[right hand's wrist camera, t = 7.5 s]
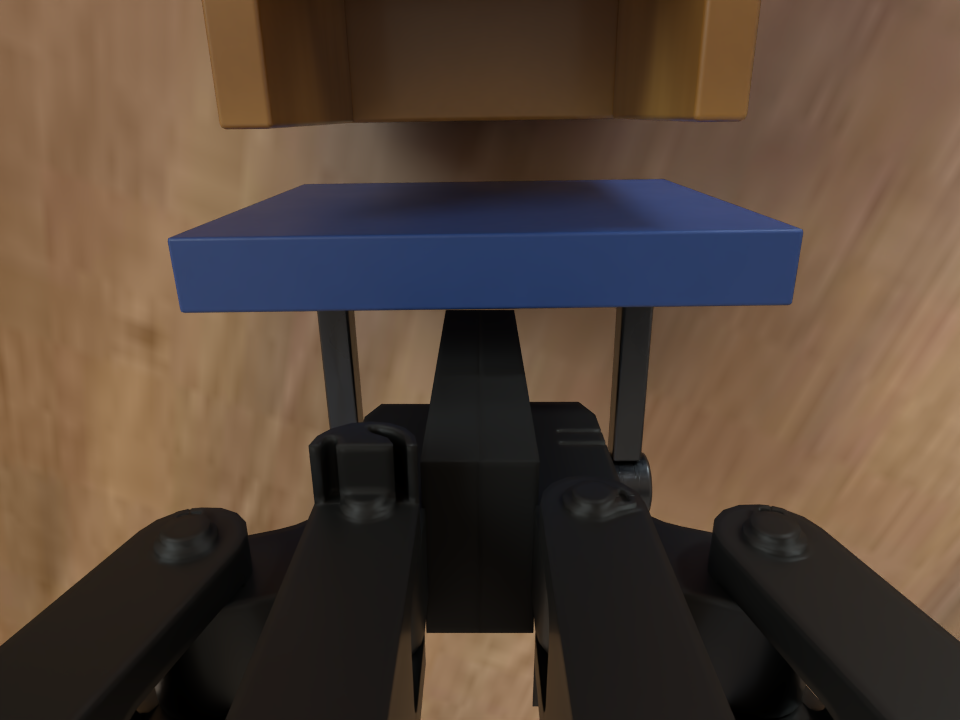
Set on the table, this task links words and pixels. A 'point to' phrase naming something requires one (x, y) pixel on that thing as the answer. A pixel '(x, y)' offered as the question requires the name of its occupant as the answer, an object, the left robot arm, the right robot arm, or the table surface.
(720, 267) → the drawer
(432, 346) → the table surface
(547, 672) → the right robot arm
